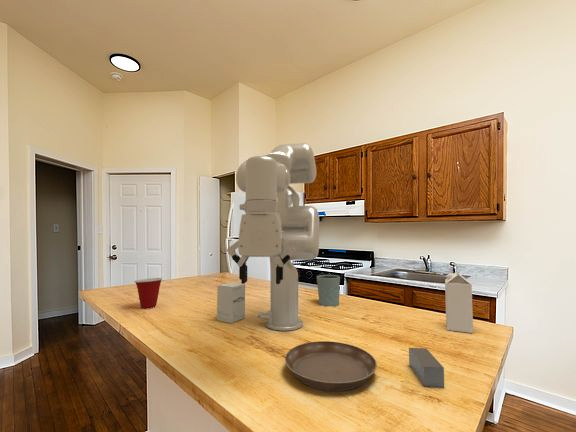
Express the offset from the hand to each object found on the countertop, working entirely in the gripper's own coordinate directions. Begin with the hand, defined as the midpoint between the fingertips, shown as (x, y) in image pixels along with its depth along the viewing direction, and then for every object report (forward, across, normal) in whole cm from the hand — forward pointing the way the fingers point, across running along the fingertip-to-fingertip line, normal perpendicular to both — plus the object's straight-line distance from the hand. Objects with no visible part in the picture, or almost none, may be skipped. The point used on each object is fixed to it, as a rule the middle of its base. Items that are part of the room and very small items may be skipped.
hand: (261, 282), depth 71 cm
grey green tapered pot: (+20, +18, +62) cm, 68 cm away
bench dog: (+20, +37, 0) cm, 42 cm away
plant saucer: (+20, +16, 0) cm, 26 cm away
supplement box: (+20, -18, +37) cm, 46 cm away
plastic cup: (+20, -58, +51) cm, 80 cm away
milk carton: (+20, +59, +33) cm, 71 cm away
